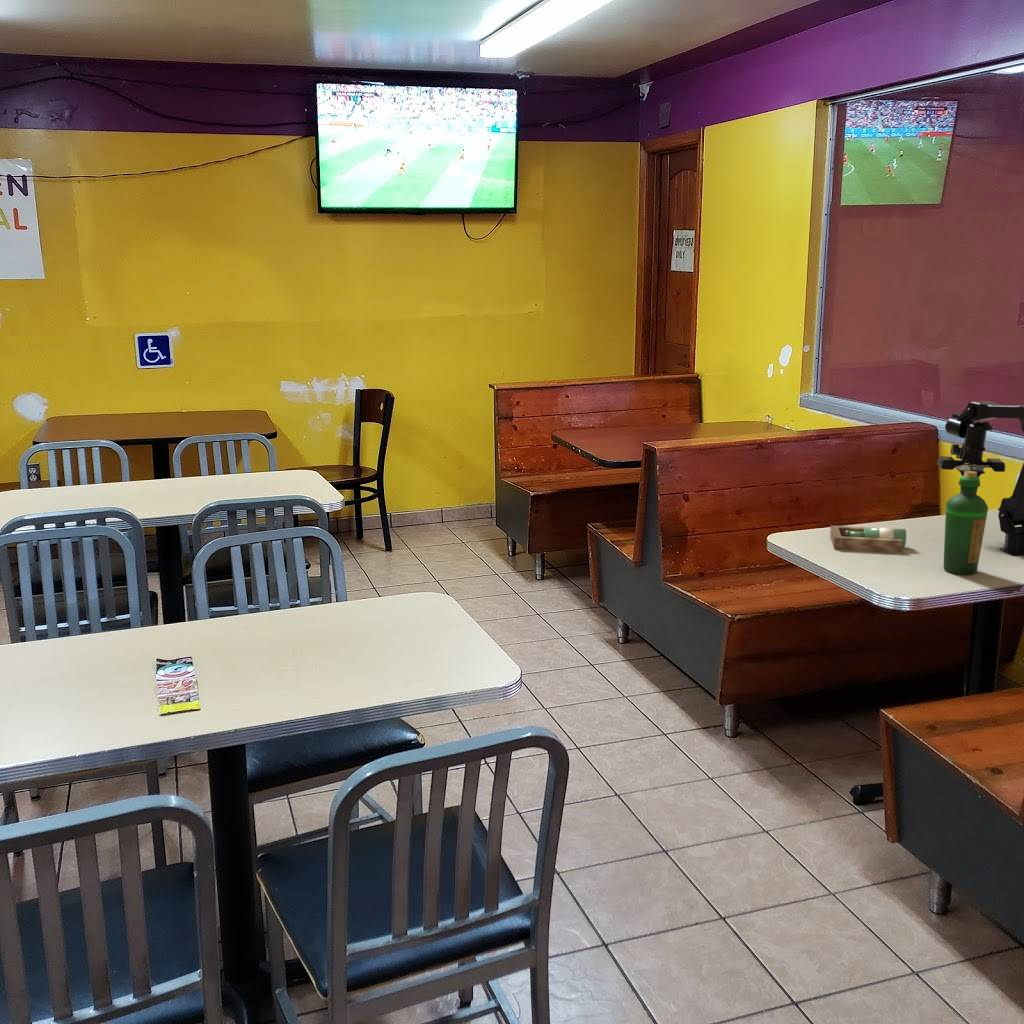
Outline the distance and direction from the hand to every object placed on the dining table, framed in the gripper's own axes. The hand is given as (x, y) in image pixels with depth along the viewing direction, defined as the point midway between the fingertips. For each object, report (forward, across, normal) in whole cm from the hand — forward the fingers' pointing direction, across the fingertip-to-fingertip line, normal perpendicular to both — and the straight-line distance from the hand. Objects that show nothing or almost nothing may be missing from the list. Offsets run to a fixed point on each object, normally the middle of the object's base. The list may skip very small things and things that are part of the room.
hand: (966, 490), depth 317 cm
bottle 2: (+12, +13, +41) cm, 44 cm away
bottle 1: (+10, +22, +19) cm, 31 cm away
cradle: (+14, +33, +16) cm, 39 cm away
